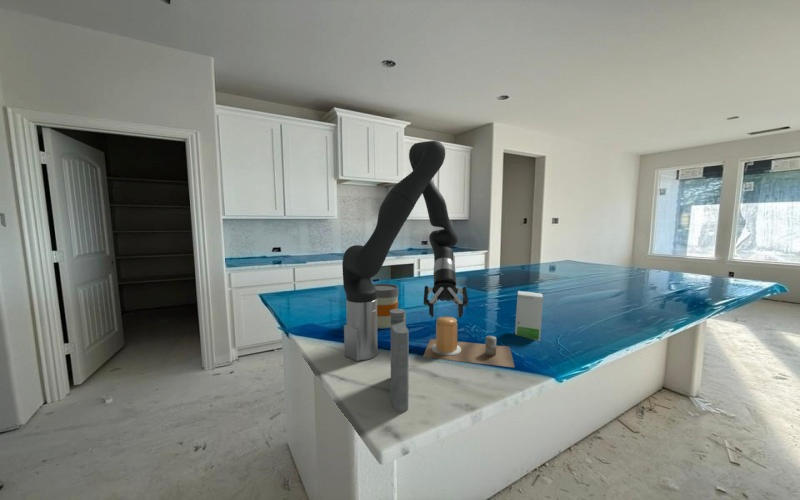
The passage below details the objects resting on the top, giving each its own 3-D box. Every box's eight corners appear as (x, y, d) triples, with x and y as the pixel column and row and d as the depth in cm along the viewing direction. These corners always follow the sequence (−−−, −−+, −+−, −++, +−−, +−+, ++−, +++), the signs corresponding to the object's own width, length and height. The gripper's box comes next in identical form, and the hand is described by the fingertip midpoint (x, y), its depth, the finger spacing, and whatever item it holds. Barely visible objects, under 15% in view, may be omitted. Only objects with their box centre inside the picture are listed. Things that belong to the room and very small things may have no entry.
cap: (449, 354, 89) (449, 324, 88) (432, 348, 93) (432, 319, 92) (460, 347, 93) (460, 319, 92) (443, 342, 97) (444, 315, 96)
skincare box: (514, 338, 106) (516, 294, 104) (515, 332, 112) (516, 290, 110) (541, 342, 102) (543, 296, 101) (540, 335, 109) (542, 292, 107)
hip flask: (408, 412, 65) (409, 321, 63) (389, 412, 65) (389, 321, 63) (405, 374, 81) (405, 301, 79) (389, 375, 81) (389, 301, 79)
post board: (509, 351, 95) (510, 331, 94) (514, 372, 82) (515, 349, 81) (430, 343, 101) (430, 324, 101) (422, 361, 88) (422, 340, 87)
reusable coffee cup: (398, 330, 113) (398, 290, 112) (365, 330, 113) (364, 290, 112) (399, 319, 126) (399, 283, 124) (368, 319, 126) (368, 283, 124)
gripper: (424, 267, 103) (423, 310, 93) (466, 267, 102) (470, 311, 92) (423, 279, 109) (423, 321, 99) (464, 280, 108) (467, 322, 97)
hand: (446, 316), depth 95 cm, fingers open, 8 cm apart
